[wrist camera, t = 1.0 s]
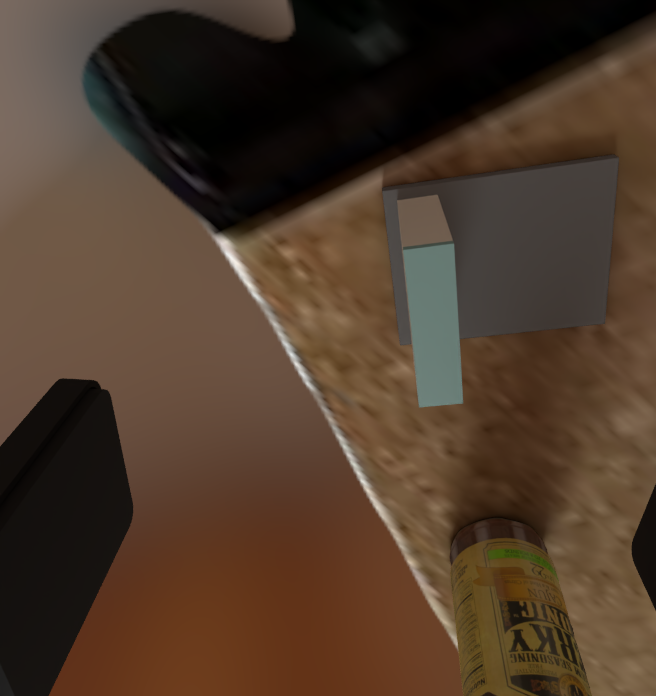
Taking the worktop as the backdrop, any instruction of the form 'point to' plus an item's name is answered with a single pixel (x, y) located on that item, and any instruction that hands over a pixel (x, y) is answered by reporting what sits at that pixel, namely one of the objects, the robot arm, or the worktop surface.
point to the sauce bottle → (511, 615)
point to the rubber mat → (520, 245)
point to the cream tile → (431, 300)
